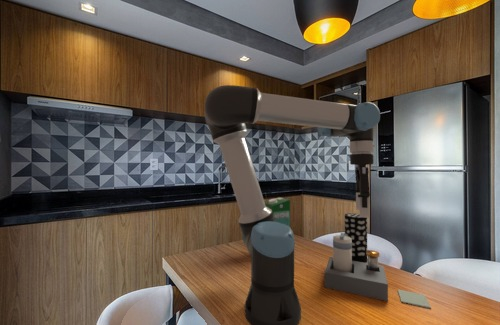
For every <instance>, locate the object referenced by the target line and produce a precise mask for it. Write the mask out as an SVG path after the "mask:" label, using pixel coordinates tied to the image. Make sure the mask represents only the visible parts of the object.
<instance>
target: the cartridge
mask: <svg viewBox="0 0 500 325" xmlns="http://www.w3.org/2000/svg"><path fill="white" fill-rule="evenodd" d="M332 257H333V270H339V271H344V272H350V273H352V238H350V237H348V236H345V232H344V233H343V232H340V234H336V235H334V236H332Z"/></svg>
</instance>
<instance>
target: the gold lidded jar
mask: <svg viewBox="0 0 500 325" xmlns="http://www.w3.org/2000/svg"><path fill="white" fill-rule="evenodd" d="M366 255H367V263H368V270H371V271H377V272H378V265H379V260H378V259H379V258H380V252H379V251H377V250H372V249H367V251H366Z"/></svg>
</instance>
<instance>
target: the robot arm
mask: <svg viewBox="0 0 500 325" xmlns="http://www.w3.org/2000/svg"><path fill="white" fill-rule="evenodd" d="M203 104H204V107H203V108H204V118H205V119H204V120H205V123H206V125H207V126H208V129H209V132H210V135H211V139H212V142H214V143H215V144H217V145H218V146H219V149H220V152H221V155H222V158H223V161H224V164H225V168H226V171H227V174H228V177H229V180H230V184H231V187H232V189H233V193H234V196H235V199H236V203H237V206H238V209H239V212H240V216H239V218H238V224H239V228H240V231H241V236H242V237H241V238H242V241H243V243H244V245H245V247H246V249H247V251H248V253H249V256H250V261H251V263H250V265H251V266H250V268H251V270H250V273H251V274H250V275H251V276H250V278H251V279H250V282H251V283H250V286H249V290H248V293H247V296H246V299H245V303H244V316H245V318H246V321H247V322H248V323H249V324H250V325H299V324H300V322H301V319H302V308H301V304H300V300H299V297H298V294H297V290H296V288H295V245H296V242H295V235H294V232H293V229H291V226H290V227H288V226H287V225H285V224H281V223H279V222H275V219H274V216H273V213H272V210H271V209H269V208H267V207H266V206H265V202H266V201H265V199H264V196H263V193H262V190H261V187H260V183H259V180H258V177H257V173H256V171H255V167H254V164H253V161H252V157H251V154H250V151H249V149H248V144H247V141H246V135H247V133H248V129H247V125H246V124H250V125H254V124H255V123H257V122H264V123H265V122H266V123H267V122H268V123H275V124H277V123H278V124H285V125H294V126H295V125H296V126H303V127H315V128H317V133H318V134H319V135H320V136H321V137H328V138H331V137H333V138H335V137H339V138H340V137H343V138H344V137H347V138H349V153H350V155H349V161H350V162H349V164H350V165H352V166H353V165H357V166H356V167H355V171H354V173H355V174H354V175H355V189H354V190H355V209H356V211H357V210H358V211H359V214H360V217H364V218H367V219H369V218H370V196H371V193H370V183H369V182H370V180H369V179H370V178H369V167H367V165H369V166H370V165H374V154H373V153H374V147H376V144H375V143H374V127H375V128H376V127H377V125H378V124H379V122H380V121H381V111H380V109H379V107H378V106H377V105H376V104H375V103H374V102H371V101H370V102H369V101H368V102H367V101H366V102H362V103H358V104H350V103H340V102H339V103H338V102H332V101H325V100H318V99H310V98H302V97H295V96H289V95H288V96H287V95H280V94H271V93H265V92H261V91H260V90H259V88H258V87H250V86H244V85H243V86H242V85H235V84H234V85H230V84H226V85H219V86H217V87H214V88H213V89H212V90H211V91H209V92H208V94H207V95H206V98H205V99H204V103H203Z"/></svg>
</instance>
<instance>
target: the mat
mask: <svg viewBox="0 0 500 325" xmlns="http://www.w3.org/2000/svg"><path fill="white" fill-rule="evenodd" d="M397 292H398V295H399V299H400V303H402V302H403V303H402V304H406V303H408V304H407V305H411V304H412V306H416V307H420V306H421V308H425V307H426V309H430V310H431V308H432V307H431V305H430V302H429V301H428V299H427V297H426V295H425V294H424V293H423V294H422V293H417V292H413V291H408V290H402V289H397Z"/></svg>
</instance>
